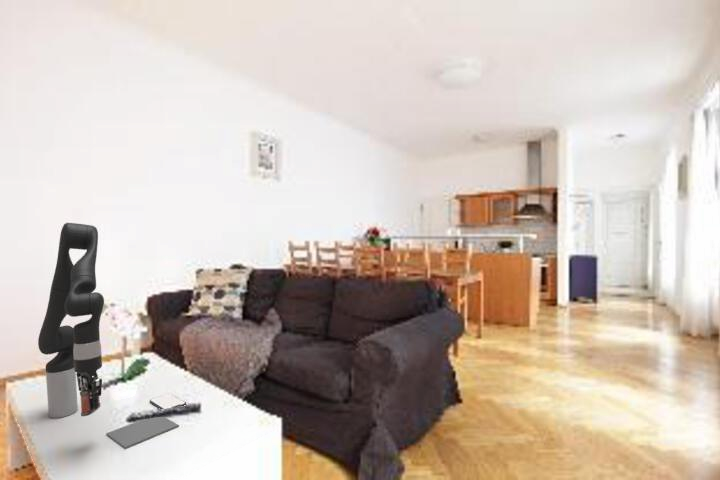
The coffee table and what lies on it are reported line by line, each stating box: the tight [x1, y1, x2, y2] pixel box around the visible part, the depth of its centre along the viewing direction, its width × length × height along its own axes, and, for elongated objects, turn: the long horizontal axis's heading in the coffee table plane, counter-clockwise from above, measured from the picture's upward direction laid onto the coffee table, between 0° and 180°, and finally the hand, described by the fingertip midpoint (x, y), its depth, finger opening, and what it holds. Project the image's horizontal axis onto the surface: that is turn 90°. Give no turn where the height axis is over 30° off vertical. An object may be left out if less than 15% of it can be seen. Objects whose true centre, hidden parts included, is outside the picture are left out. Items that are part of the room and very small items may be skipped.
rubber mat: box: [105, 416, 180, 450], centre depth 147 cm, size 15×18×1 cm
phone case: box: [149, 393, 187, 409], centre depth 168 cm, size 9×2×16 cm
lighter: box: [79, 383, 101, 417], centre depth 137 cm, size 8×3×10 cm, turn 4°
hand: (90, 406), depth 137 cm, fingers closed on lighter, 5 cm apart
